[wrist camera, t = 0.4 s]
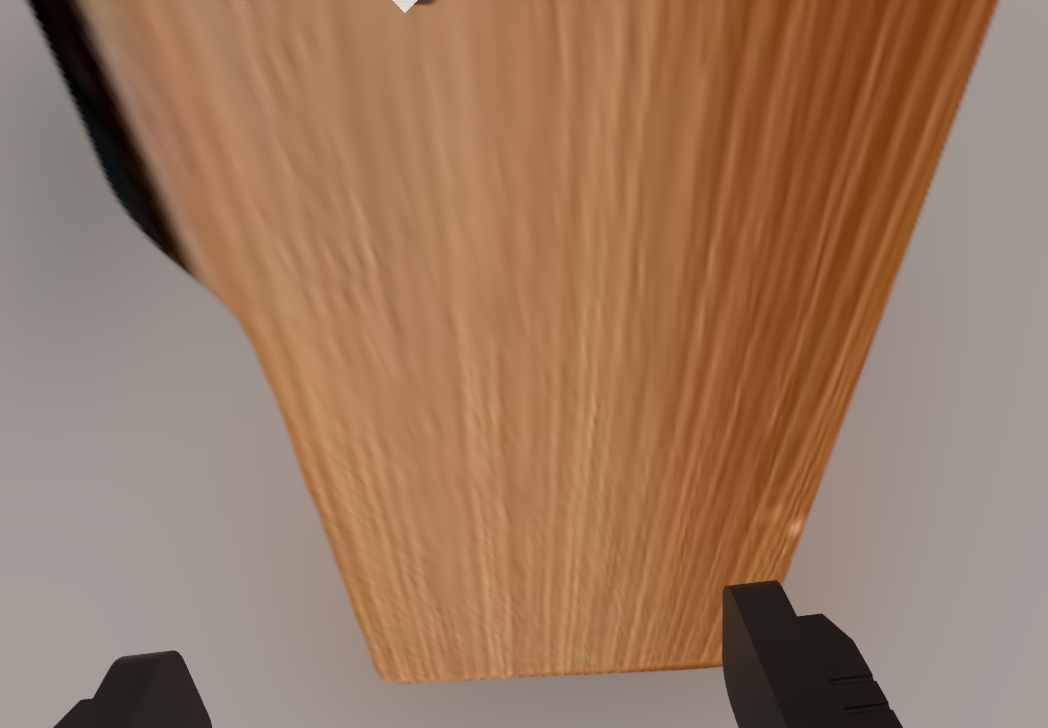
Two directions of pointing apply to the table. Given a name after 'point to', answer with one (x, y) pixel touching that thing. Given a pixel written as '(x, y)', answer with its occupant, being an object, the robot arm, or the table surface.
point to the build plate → (404, 4)
